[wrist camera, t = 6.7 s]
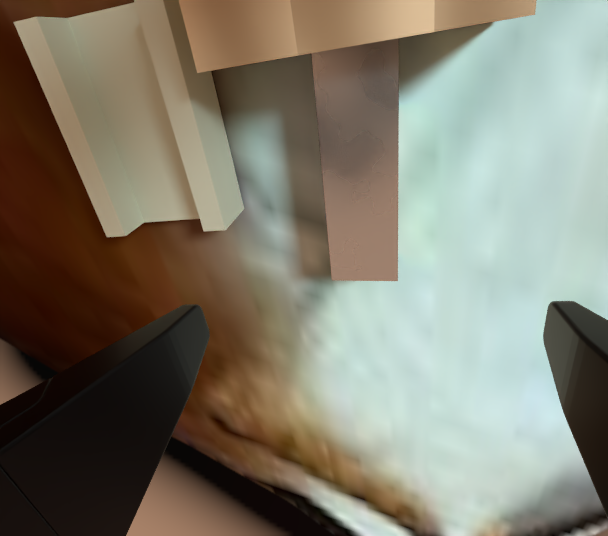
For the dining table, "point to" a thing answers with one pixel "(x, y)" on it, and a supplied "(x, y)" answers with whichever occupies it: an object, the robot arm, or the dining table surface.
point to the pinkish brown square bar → (360, 157)
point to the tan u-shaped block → (322, 25)
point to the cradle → (136, 115)
